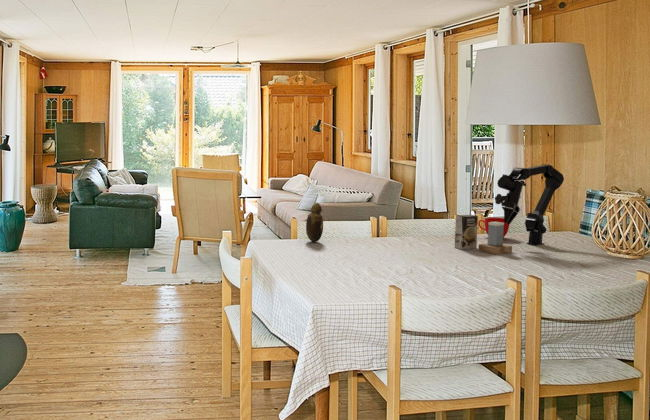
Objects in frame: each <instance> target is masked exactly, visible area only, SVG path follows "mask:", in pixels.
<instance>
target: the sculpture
mask: <svg viewBox="0 0 650 420" xmlns="http://www.w3.org/2000/svg"><path fill="white" fill-rule="evenodd" d="M310 212H311V213H309V214H307V218H306V223H305V232H306V236H307V238H308V240H310V241H311V242H312V241H313V242H312V243H316V242H315V241H317V242H319V241H320V239H321V237H322V235H323V232H324V218H323V215H322V214H321V213H322V212H323V208H322V205H321V203H318V202H315V203H313V204H312V205H311V208H310Z"/></svg>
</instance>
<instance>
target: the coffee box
mask: <svg viewBox="0 0 650 420" xmlns="http://www.w3.org/2000/svg"><path fill="white" fill-rule="evenodd" d="M478 222H479V216H478V215H475V214H474V215H473V214H458V215H455V225H454V226H455V228H454V230H455V231H454V233H455V234H454V248H455V249H457V250H471V249H477V244H478V243H477V242H478V226H479V225H478Z"/></svg>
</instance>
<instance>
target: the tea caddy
mask: <svg viewBox="0 0 650 420" xmlns="http://www.w3.org/2000/svg"><path fill="white" fill-rule="evenodd" d="M488 225H489V228H488V234H487V244H488V245H490V246H495V247H497V246H503V244H504V237H503V230H504V223H502V222H488Z"/></svg>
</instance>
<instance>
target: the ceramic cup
mask: <svg viewBox="0 0 650 420" xmlns="http://www.w3.org/2000/svg"><path fill="white" fill-rule="evenodd" d="M481 222H483V224H484V227H483V226H482V225H481ZM488 222H502V223H504V230H503V238H504V237H506V235H507V234H508V231H509V229H510V224H509V225H508V224H507V222H506V223H505V222H504V217H503V218H502V217H486V218H484V219H479V220H478V225H477V226H478V227H479V229H481V230H483V231H485V232H486V234H487V235H488V228H489V225H488Z"/></svg>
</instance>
